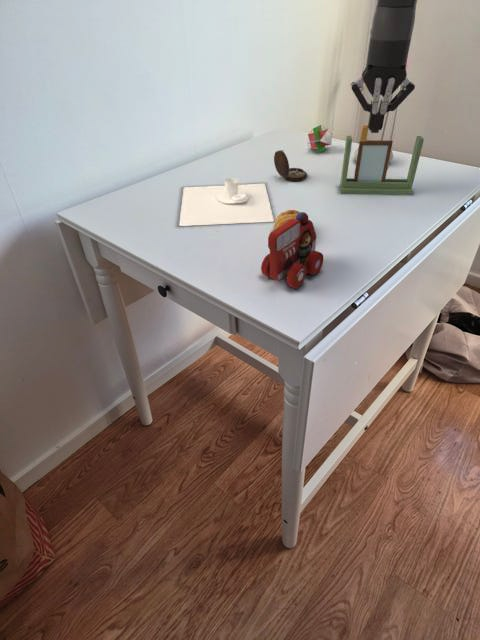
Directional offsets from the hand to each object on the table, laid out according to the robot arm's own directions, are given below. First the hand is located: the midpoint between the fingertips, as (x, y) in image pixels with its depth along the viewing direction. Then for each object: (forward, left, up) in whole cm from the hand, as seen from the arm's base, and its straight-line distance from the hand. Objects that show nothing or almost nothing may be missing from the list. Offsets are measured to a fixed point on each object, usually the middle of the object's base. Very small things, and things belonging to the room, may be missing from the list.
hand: (374, 131), depth 91 cm
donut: (-4, -19, -13) cm, 24 cm away
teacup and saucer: (+32, +8, -13) cm, 36 cm away
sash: (-1, 0, -12) cm, 12 cm away
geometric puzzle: (+10, -27, -13) cm, 32 cm away
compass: (+18, -8, -13) cm, 24 cm away
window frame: (-2, 0, -13) cm, 13 cm away
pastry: (+17, +22, -13) cm, 31 cm away
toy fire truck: (+17, +36, -13) cm, 42 cm away
